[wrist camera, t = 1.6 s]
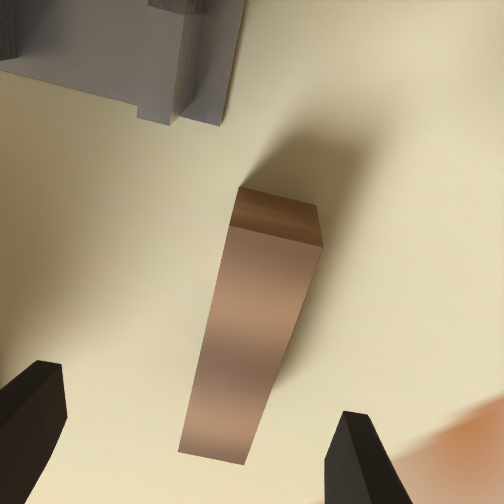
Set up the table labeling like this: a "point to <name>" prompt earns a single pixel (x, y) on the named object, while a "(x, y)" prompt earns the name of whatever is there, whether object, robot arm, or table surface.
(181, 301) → the table surface
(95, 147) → the table surface
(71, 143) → the table surface
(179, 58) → the bracket
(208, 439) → the rail
